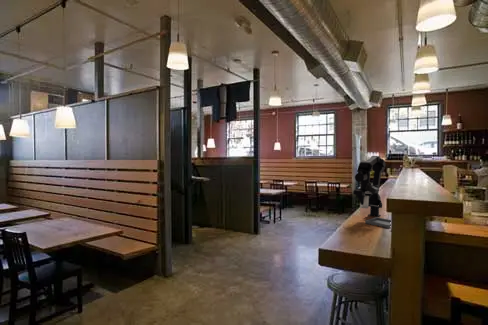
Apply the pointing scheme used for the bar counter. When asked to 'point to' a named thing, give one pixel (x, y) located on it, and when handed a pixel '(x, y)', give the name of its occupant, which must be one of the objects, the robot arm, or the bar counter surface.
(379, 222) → the tray
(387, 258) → the bar counter surface
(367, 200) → the ceramic cup
